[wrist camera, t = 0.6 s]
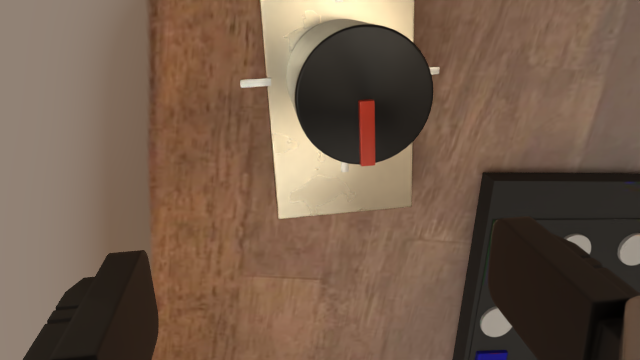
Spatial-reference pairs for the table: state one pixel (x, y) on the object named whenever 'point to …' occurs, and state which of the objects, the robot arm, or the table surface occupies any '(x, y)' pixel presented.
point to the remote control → (560, 219)
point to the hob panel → (290, 140)
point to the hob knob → (359, 90)
